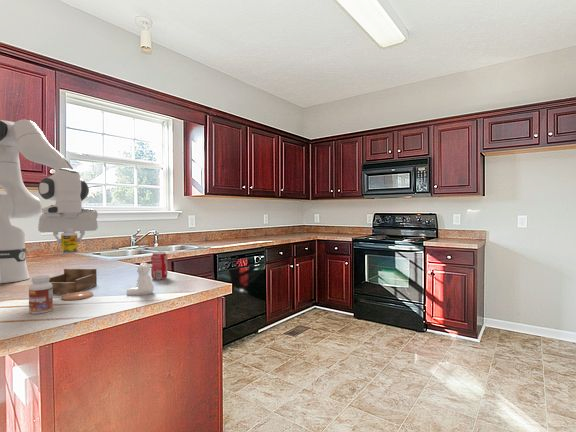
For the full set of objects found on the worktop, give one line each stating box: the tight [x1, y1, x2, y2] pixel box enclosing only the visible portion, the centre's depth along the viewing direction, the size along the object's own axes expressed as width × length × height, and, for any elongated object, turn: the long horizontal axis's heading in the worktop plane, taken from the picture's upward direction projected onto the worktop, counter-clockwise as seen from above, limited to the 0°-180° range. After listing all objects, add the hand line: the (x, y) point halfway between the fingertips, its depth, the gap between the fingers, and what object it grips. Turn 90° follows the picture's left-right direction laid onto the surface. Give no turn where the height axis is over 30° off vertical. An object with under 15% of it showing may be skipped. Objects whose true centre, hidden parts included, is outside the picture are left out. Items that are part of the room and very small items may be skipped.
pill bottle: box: [28, 275, 54, 315], centre depth 110 cm, size 6×6×11 cm
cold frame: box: [49, 268, 98, 294], centre depth 141 cm, size 14×14×7 cm
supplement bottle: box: [60, 229, 78, 255], centre depth 140 cm, size 6×6×10 cm
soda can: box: [150, 251, 168, 281], centre depth 161 cm, size 7×7×12 cm
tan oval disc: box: [61, 290, 94, 301], centre depth 128 cm, size 10×10×1 cm
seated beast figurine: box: [125, 262, 155, 296], centre depth 133 cm, size 10×9×12 cm
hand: (69, 242), depth 140 cm, fingers closed on supplement bottle, 6 cm apart
